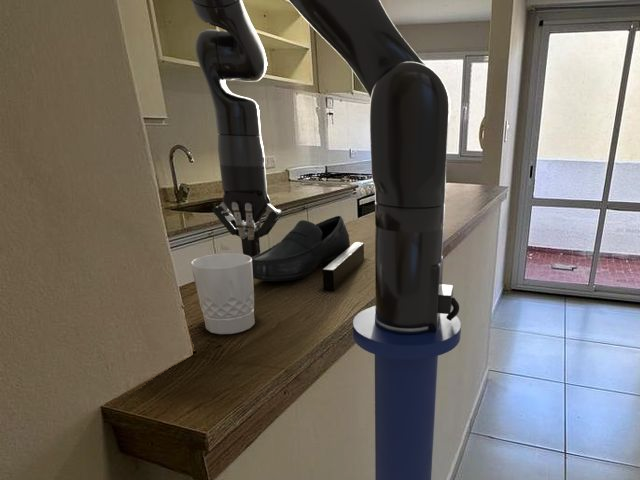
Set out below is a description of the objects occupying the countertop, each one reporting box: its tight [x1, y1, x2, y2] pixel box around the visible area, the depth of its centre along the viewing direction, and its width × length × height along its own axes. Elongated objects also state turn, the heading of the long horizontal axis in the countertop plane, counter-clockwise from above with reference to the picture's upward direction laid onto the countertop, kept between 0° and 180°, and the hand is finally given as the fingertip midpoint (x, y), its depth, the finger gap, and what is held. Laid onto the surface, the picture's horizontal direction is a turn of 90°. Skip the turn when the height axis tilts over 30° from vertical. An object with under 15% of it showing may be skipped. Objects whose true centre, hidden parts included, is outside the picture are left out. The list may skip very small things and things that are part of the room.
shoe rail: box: [322, 241, 365, 292], centre depth 91 cm, size 2×22×4 cm, turn 172°
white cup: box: [190, 252, 256, 335], centre depth 64 cm, size 8×8×10 cm
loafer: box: [251, 215, 351, 282], centre depth 91 cm, size 10×29×10 cm, turn 162°
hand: (252, 257), depth 86 cm, fingers closed
